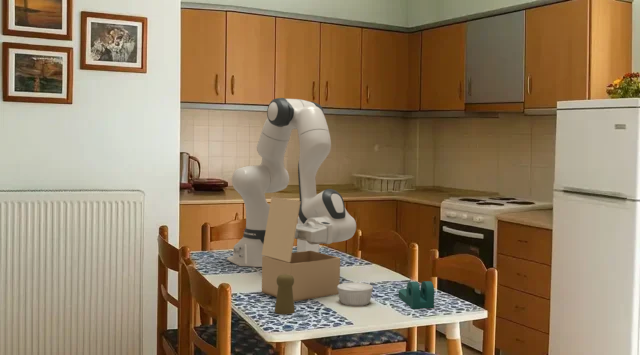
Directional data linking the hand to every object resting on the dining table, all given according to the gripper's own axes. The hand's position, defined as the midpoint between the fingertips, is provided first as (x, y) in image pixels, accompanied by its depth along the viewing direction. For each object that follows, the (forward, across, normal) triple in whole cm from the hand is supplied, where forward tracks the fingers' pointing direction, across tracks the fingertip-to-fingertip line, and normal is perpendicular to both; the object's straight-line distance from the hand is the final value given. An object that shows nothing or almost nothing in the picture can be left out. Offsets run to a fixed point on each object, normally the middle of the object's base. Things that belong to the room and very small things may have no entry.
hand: (281, 233), depth 228 cm
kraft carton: (-9, 0, +20) cm, 22 cm away
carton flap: (0, 0, -2) cm, 2 cm away
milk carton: (-57, -58, +20) cm, 84 cm away
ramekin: (-15, +19, +21) cm, 32 cm away
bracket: (-32, +29, +21) cm, 48 cm away
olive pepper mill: (+10, +15, +21) cm, 28 cm away
